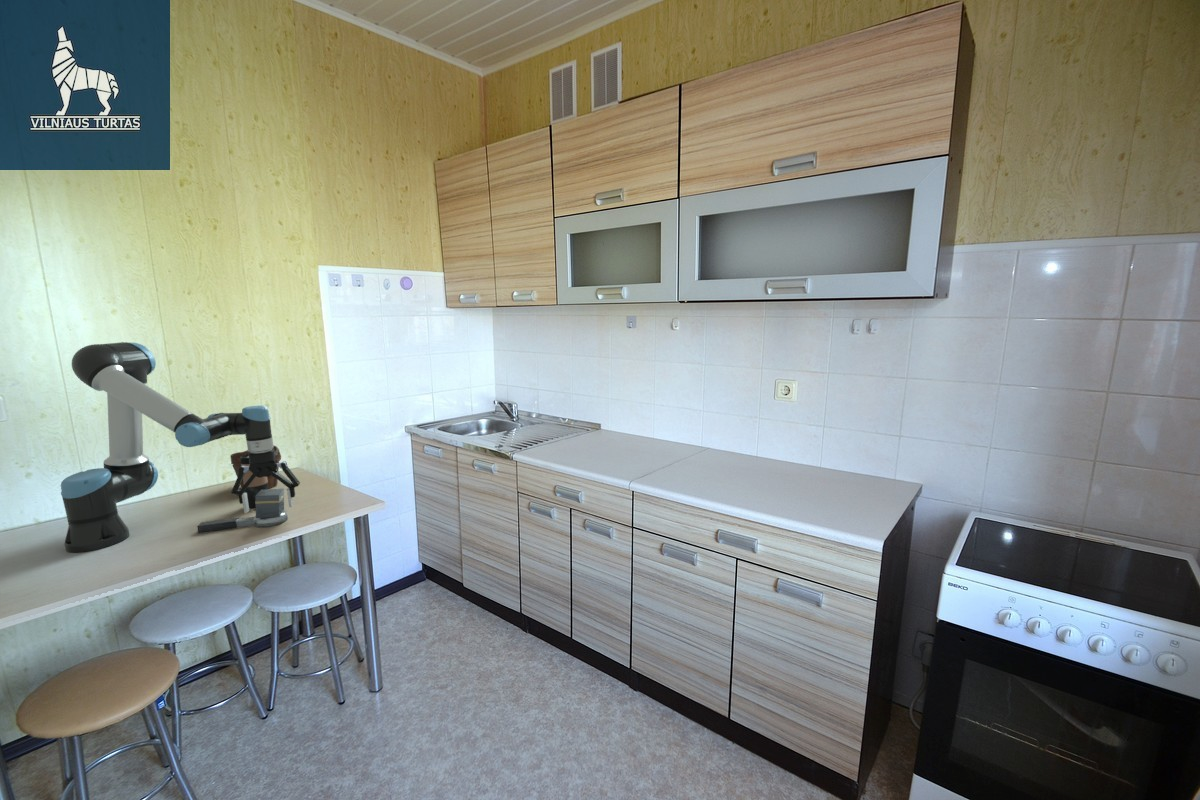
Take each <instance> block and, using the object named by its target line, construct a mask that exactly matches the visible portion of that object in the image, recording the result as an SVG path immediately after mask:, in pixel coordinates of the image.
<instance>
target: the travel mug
mask: <svg viewBox="0 0 1200 800" xmlns="http://www.w3.org/2000/svg"><path fill="white" fill-rule="evenodd" d="M240 461H241V466H242V465H245V466H250V462H249V455H248V454H246V455H242V456H241V457H240ZM252 474H253V473H252V472H251V471H250V470H248V471H247V472H246V473H245V475H244V477H243V483H244V484H245V483H246V482H247V481H248V479H249V478H250V477H251V475H252ZM261 489H268V480H267V477H261V478H259V477H257V476H256V477H255V478H254V480H253V481H252V482H251V484H250V485H249V486H248V487H247V489H246V490H245V491H244V493H247V498H248V505H249V510H250V509H253V510H254V509H255V510H256V504H255V501H256V500H255V496H256V495H257V494H258V493H259V491H260V490H261Z"/></svg>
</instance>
